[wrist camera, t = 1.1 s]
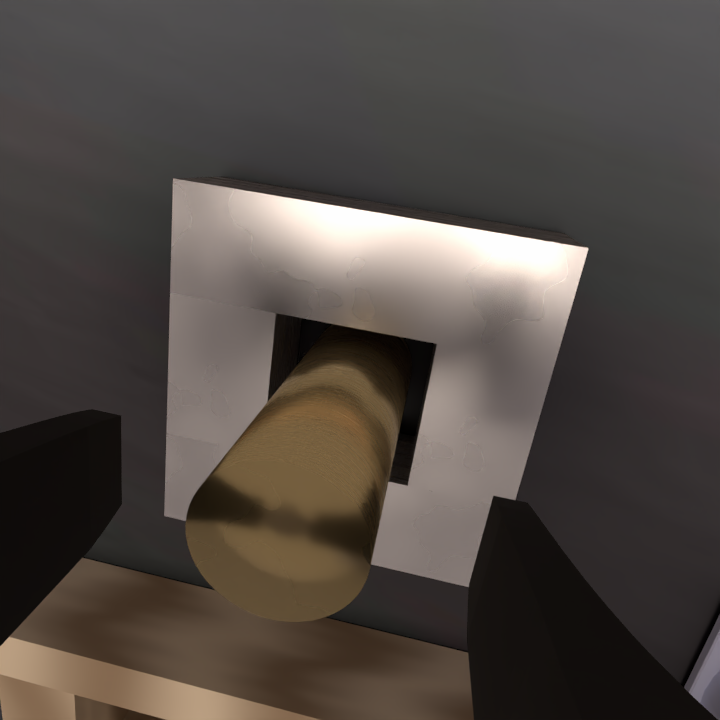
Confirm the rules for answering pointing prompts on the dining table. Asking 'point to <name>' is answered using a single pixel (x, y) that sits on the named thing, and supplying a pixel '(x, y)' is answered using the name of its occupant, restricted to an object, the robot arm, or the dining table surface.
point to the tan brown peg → (306, 482)
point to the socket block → (377, 314)
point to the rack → (212, 660)
